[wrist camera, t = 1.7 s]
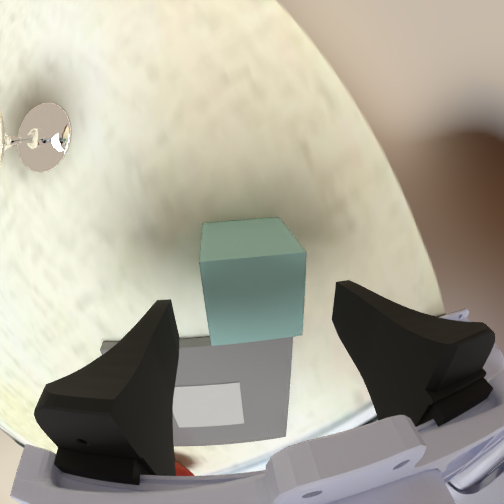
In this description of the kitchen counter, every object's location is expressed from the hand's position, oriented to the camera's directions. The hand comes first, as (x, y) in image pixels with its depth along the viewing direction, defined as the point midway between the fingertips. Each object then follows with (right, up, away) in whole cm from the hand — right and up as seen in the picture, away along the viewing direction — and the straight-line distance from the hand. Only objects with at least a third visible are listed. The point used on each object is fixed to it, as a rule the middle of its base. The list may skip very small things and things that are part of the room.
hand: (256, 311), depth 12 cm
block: (-1, +2, +6) cm, 6 cm away
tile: (-4, -10, +10) cm, 15 cm away
